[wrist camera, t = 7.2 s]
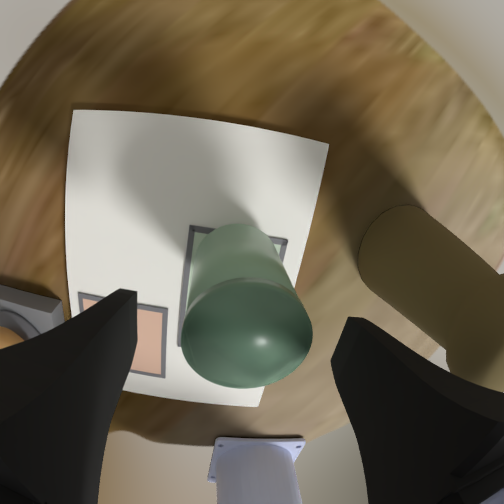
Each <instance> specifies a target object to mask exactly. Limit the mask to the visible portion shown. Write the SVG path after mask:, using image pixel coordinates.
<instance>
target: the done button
mask: <svg viewBox="0 0 504 504" xmlns="http://www.w3.org/2000/svg"><path fill="white" fill-rule="evenodd" d="M23 341H24V340H23V339H22V338H21V337H20V336H19V335H17V334H16V333H15V332H13V331H12V330H10V329H8V328H5V327H1V326H0V349H2V348H5V347H8V346H11V345H14V344H17V343H20V342H23Z"/></svg>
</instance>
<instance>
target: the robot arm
mask: <svg viewBox="0 0 504 504" xmlns="http://www.w3.org/2000/svg"><path fill="white" fill-rule="evenodd" d="M137 342H138V334H137V291H133V290H128V289H122V288H119V289H118V290H116V291H114V292H112V293H111V294H109V295H108V296H106V297H105V298H103V299H102V300H100V301H99V302H97V303H95V304H94V305H92V306H91V307H89V308H88V309H86V310H84V311H83V312H81V313H80V314H78V315H76V316H74V317H73V318H71V319H69V320H67V321H66V322H64V323H62V324H60V325H59V326H57V327H55V328H53V329H51V330H49V331H47V332H44V333H42V334H40V335H38V336H35V337H33V338H31V339H28V340H26V341H23V342H20V343H17V344H14V345H11V346H8V347H5V348H2V349H0V504H97V503H98V493H99V483H100V475H101V468H102V461H103V456H104V450H105V445H106V440H107V435H108V431H109V427H110V423H111V420H112V417H113V414H114V411H115V408H116V406H117V403H118V400H119V397H120V395H121V392H122V390H123V387H124V384H125V382H126V379H127V376H128V374H129V371H130V369H131V366H132V362H133V358H134V354H135V350H136V346H137ZM330 361H331V366H332V371H333V375H334V379H335V383H336V386H337V389H338V391H339V394H340V397H341V399H342V402H343V404H344V407H345V409H346V412H347V414H348V417H349V419H350V422H351V424H352V427H353V430H354V432H355V435H356V438H357V442H358V445H359V450H360V454H361V458H362V463H363V468H364V474H365V479H366V486H367V494H368V503H369V504H504V393H503V392H499V391H496V390H492V389H489V388H486V387H483V386H480V385H477V384H475V383H472V382H470V381H467V380H465V379H462V378H460V377H458V376H456V375H454V374H452V373H450V372H448V371H446V370H444V369H442V368H440V367H438V366H437V365H435V364H433V363H431V362H430V361H428V360H427V359H425V358H424V357H422V356H420V355H419V354H417V353H416V352H414V351H413V350H411V349H410V348H408V347H407V346H405V345H404V344H402V343H401V342H400V341H398V340H397V339H395V338H394V337H392V336H391V335H390V334H388V333H387V332H385V331H384V330H382V329H381V328H379V327H378V326H376V325H375V324H373V323H372V322H370V321H368V320H366V319H364V318H360V317H348V318H347V321H346V324H345V326H344V329H343V331H342V334H341V336H340V339H339V341H338V344H337V346H336V349H335V351H334V353H333V356H332V358H331V360H330ZM305 444H306V441H305V439H303V438H293V439H253V438H230V437H218V438H216V440H215V445H214V450H213V454H212V459H211V464H210V469H209V474H208V481H209V482H215V483H216V484H217V504H302V500H301V495H300V491H299V486H298V481H297V477H296V472H295V468H294V461H295V460H296V458H297V456H298V455H299V453H300V452H301V450H302V448H303V447H304V445H305Z"/></svg>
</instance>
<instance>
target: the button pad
mask: <svg viewBox="0 0 504 504" xmlns="http://www.w3.org/2000/svg"><path fill="white" fill-rule="evenodd" d="M64 322H65V321H64V314H63V307H62V300H57V299H53V298H49V297H45V296H41V295H37V294H33V293H29V292H25V291H22V290H18V289H14V288H11V287H7V286H4V285H0V326H1V327H5V328H8V329H10V330H12V331H13V332H15V333H16V334H17V335H19V336H20V337H21V338H22V339H23V340H24V341H26V340H28V339H31V338H33V337H35V336H38V335H40V334H42V333H44V332H47V331H49V330H51V329H53V328H55V327H57V326H59V325H60V324H62V323H64Z"/></svg>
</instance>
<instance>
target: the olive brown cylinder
mask: <svg viewBox="0 0 504 504" xmlns="http://www.w3.org/2000/svg"><path fill="white" fill-rule="evenodd" d="M358 268H359V271H360V275H361V278H362V280H363V282H364V283H365V284H366V285H367V287H368V288H369V289H370V290H371V291H373V292H374V293H375V294H376V295H378V296H379V297H380V298H382V299H383V300H384V301H386V302H387V303H388V304H389V305H391V306H392V307H393V308H395V309H396V310H397V311H398V312H400V313H401V314H402V315H403V316H405V317H406V318H407V319H408V320H410V321H411V322H412V323H413V324H415V325H416V326H417V327H418V328H420V329H421V330H422V331H423V332H425V333H426V334H427V335H428V336H430V337H431V338H432V339H433V340H435V341H436V342H437V343H438V344H439V345H441V346H442V347H443V348H444V349H445V350H446V362H447V364H448V367H449V370H450V372H451V373H452V374H454V375H456V376H458V377H460V378H462V379H465V380H467V381H470V382H472V383H475V384H477V385H480V386H483V387H486V388H489V389H492V390H496V391H499V392H504V274H500V275H499V274H498V273H497V272H496V271H495V270H494V269H493V268H492V267H491V266H490V265H489V264H487V263H486V262H485V261H484V260H483V259H482V258H481V257H480V256H479V255H477V254H476V253H475V252H474V251H473V250H472V249H471V248H470V247H468V246H467V245H466V244H465V243H464V242H462V241H461V240H460V239H459V238H458V237H457V236H455V235H454V234H453V233H452V232H450V231H449V230H448V229H447V228H445V227H444V226H443V225H442V224H440V223H439V222H438V221H437V220H435V219H434V218H433V217H432V216H430V215H429V214H428V213H426V212H425V211H424V210H422V209H421V208H418V207H415V206H412V205H402V206H396V207H394V208H392V209H390V210H387V211H385V212H383V213H382V214H381V215H380V216H379V217H378V218H377V219H376V220H375V221H374V222H373V223H372V224H371V225H370V227H369V229H368V230H367V232H366V234H365V235H364V237H363V239H362V243H361V246H360V249H359V253H358Z"/></svg>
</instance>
